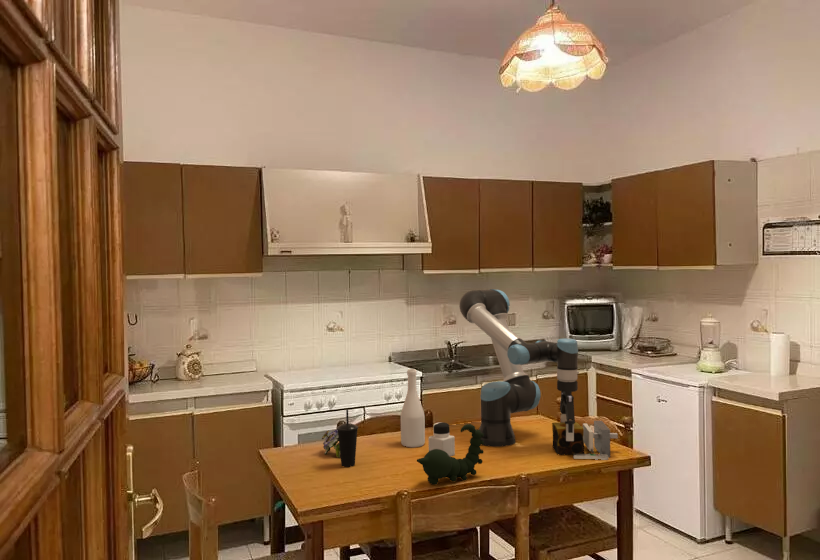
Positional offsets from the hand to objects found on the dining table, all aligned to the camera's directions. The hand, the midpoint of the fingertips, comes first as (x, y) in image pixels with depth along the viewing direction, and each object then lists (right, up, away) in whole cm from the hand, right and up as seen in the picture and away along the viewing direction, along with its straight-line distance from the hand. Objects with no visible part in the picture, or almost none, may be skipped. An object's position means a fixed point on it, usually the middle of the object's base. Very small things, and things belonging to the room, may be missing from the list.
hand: (567, 435), depth 240 cm
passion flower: (-87, -7, +1) cm, 87 cm away
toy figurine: (-46, -7, -31) cm, 56 cm away
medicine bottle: (-48, -7, -3) cm, 48 cm away
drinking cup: (-82, -8, -13) cm, 83 cm away
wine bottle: (-58, -7, +12) cm, 60 cm away
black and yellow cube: (0, -6, 0) cm, 6 cm away
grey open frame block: (+7, -6, -3) cm, 10 cm away
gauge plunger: (+13, -4, -3) cm, 13 cm away
